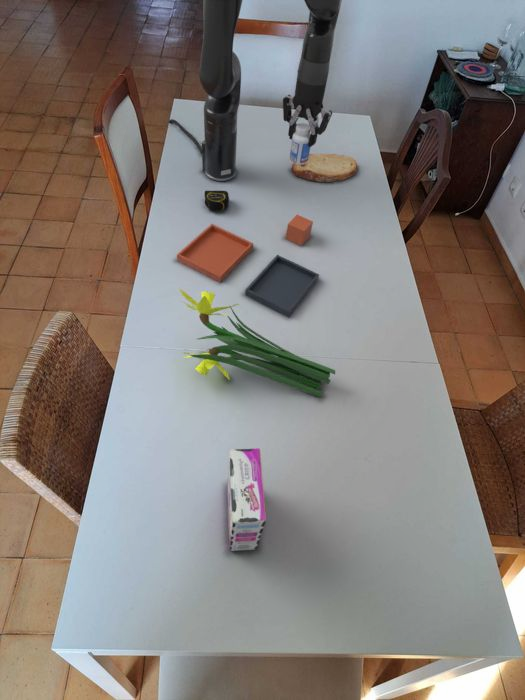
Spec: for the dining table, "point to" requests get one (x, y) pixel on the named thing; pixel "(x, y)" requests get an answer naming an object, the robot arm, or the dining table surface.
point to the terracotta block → (299, 230)
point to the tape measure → (216, 200)
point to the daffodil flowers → (255, 353)
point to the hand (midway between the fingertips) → (301, 141)
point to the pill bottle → (300, 144)
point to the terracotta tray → (215, 252)
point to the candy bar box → (245, 499)
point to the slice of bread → (326, 168)
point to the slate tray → (282, 285)
